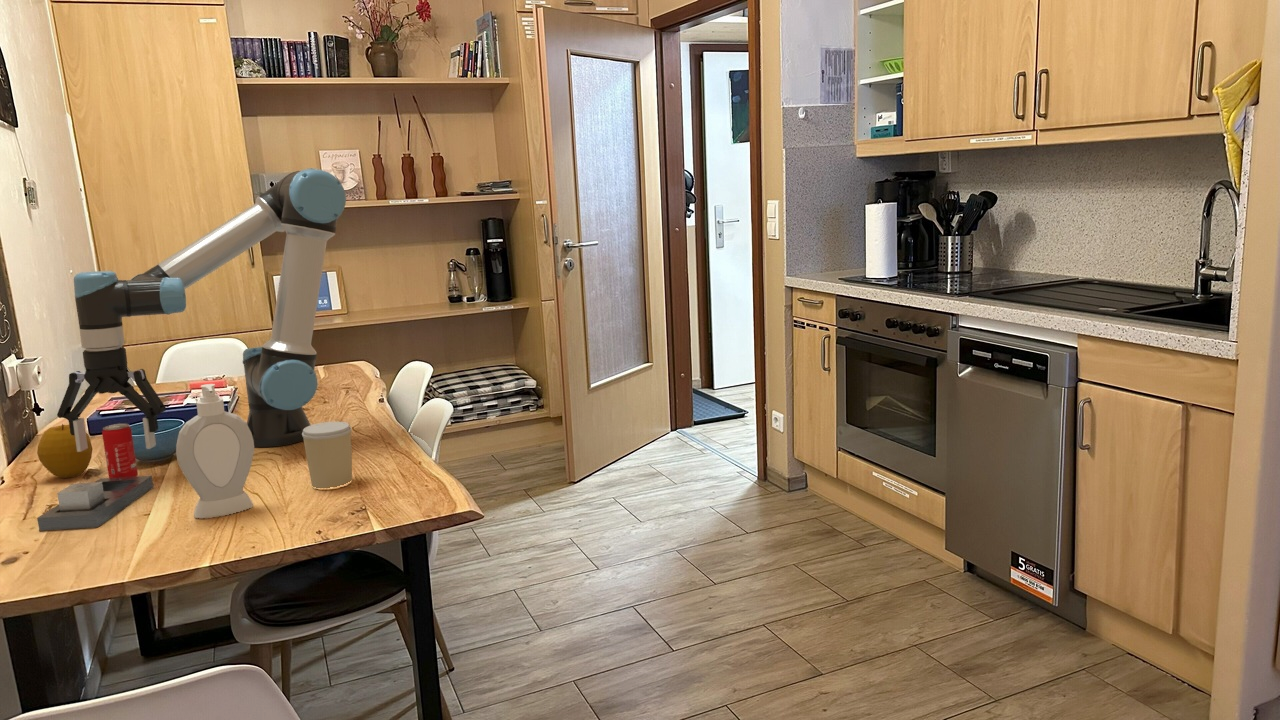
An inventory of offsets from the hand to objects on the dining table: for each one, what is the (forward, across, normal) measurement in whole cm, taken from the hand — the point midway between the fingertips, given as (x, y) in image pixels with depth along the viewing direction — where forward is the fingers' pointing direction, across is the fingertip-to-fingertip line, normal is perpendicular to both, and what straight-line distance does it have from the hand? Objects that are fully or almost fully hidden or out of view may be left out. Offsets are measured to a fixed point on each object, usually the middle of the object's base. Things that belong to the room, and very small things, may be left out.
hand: (117, 448), depth 181 cm
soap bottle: (+7, -30, +24) cm, 39 cm away
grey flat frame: (+7, -4, +16) cm, 18 cm away
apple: (+8, +14, -6) cm, 17 cm away
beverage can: (+8, 0, 0) cm, 8 cm away
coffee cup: (+7, -46, +10) cm, 47 cm away
